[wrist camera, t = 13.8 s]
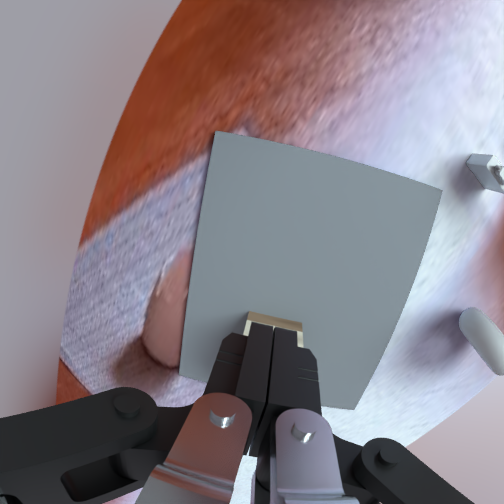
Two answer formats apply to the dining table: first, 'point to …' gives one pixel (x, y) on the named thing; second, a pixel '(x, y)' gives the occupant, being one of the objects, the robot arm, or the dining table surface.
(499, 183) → the lighter
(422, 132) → the dining table surface
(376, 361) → the mat
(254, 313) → the block
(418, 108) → the dining table surface
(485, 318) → the donut
